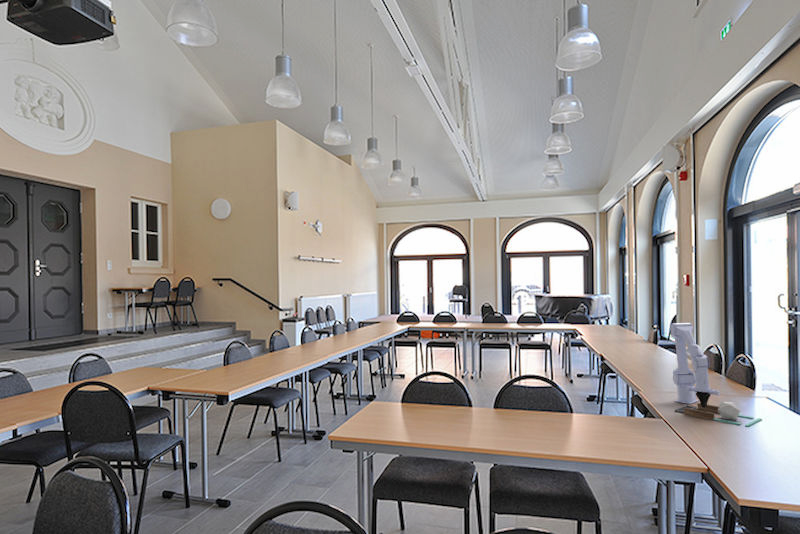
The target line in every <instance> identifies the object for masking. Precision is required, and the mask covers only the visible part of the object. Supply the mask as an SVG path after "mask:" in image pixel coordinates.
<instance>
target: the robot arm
mask: <svg viewBox="0 0 800 534" xmlns="http://www.w3.org/2000/svg"><path fill="white" fill-rule="evenodd" d="M669 328H670V329H669V330H670V331H669V332H670V336H671V338H673V339H674V343H675V352H676V361H677V367H676V368H675V369H674V370H673V371H672V380H673V384H675V385H676V386H677V399H676V400H674V401H675V402H676V403H683V404H686V405H687V404H688V405H691V404H694V403H696V402H697V403H698V402H699V403H701V406H702V407H703V408H705V407H707V404H708V403H709V399H710V397H711V395H716V396H720V395H721V391H720V390H717V389H713V388H710V379H709V368H710V364H711V363H710V358H709V357H708V356H707V355H706V354H704V353H703V349H702V348H701V346H700V345H699V344H696V341H695V340H696V339H695V338H694V335H693V334H694V325H693V324H692V323H691V322H678V323H677V322H672V323H671V324H670V327H669ZM686 345H687V346H688V347H687V346H686ZM687 351H688V354H689V355H690V357H691V366H692V369H691V368H689V365H688V364H689V362H688V354H687ZM694 385H695V386H694Z"/></svg>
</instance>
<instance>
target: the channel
mask: <svg viewBox="0 0 800 534" xmlns="http://www.w3.org/2000/svg"><path fill="white" fill-rule="evenodd" d="M696 404H697V406H696V407H697V409H689V408H684V412H685V413H684V416H685V415H687V416H691V417H697V418H701V417H702V418H701V419H706V420H711V421H714V420H713V419H714V418H716V417H715V413H717V414H720V413H719V412H718V408H719V406H720V405H713V404H708V403H707V407H705V408H703V407H702V406H701V403H700V402H697V403H696ZM700 409H701V410H700Z"/></svg>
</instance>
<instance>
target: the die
mask: <svg viewBox="0 0 800 534" xmlns="http://www.w3.org/2000/svg"><path fill="white" fill-rule="evenodd" d="M718 406H719V408H718V412H719V413H718V414H719V415H720V416H721V417H722V420H728V421H731V420H732V421H737V419H738V415H740V412H741V411H740V409H739V408H738V405H736V404H735V402H734V401H731V402H730V401H720V403H719V405H718Z"/></svg>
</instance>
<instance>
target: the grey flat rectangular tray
mask: <svg viewBox="0 0 800 534" xmlns="http://www.w3.org/2000/svg"><path fill="white" fill-rule="evenodd" d="M684 408H689V409H695V410H698V406H692V405H689V404H688V405H687V404H686V405H683V406H681V407H679V408H676V409H674V413H675V412H676V413H681V414H685V412H684Z"/></svg>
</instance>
